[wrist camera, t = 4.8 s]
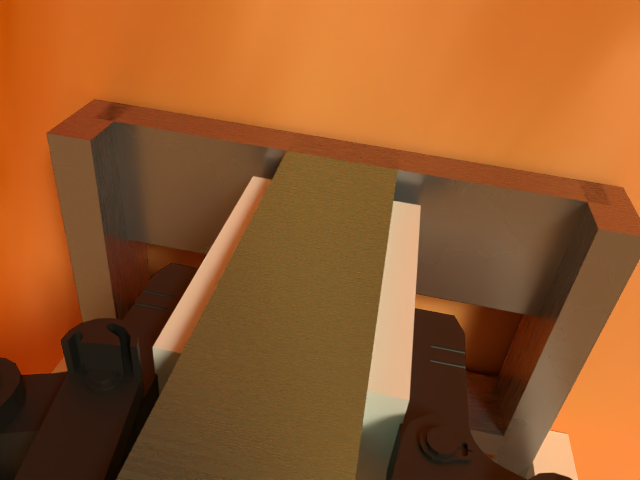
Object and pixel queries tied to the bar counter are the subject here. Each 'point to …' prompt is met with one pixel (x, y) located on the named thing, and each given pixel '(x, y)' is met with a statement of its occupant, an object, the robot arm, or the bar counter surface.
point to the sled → (328, 282)
